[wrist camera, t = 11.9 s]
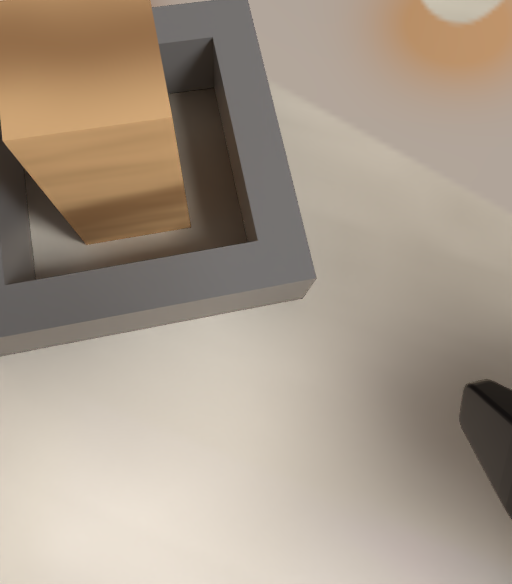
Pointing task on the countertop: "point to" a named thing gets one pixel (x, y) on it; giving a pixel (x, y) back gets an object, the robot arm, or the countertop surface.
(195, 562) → the countertop surface
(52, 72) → the oak block
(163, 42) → the collar
